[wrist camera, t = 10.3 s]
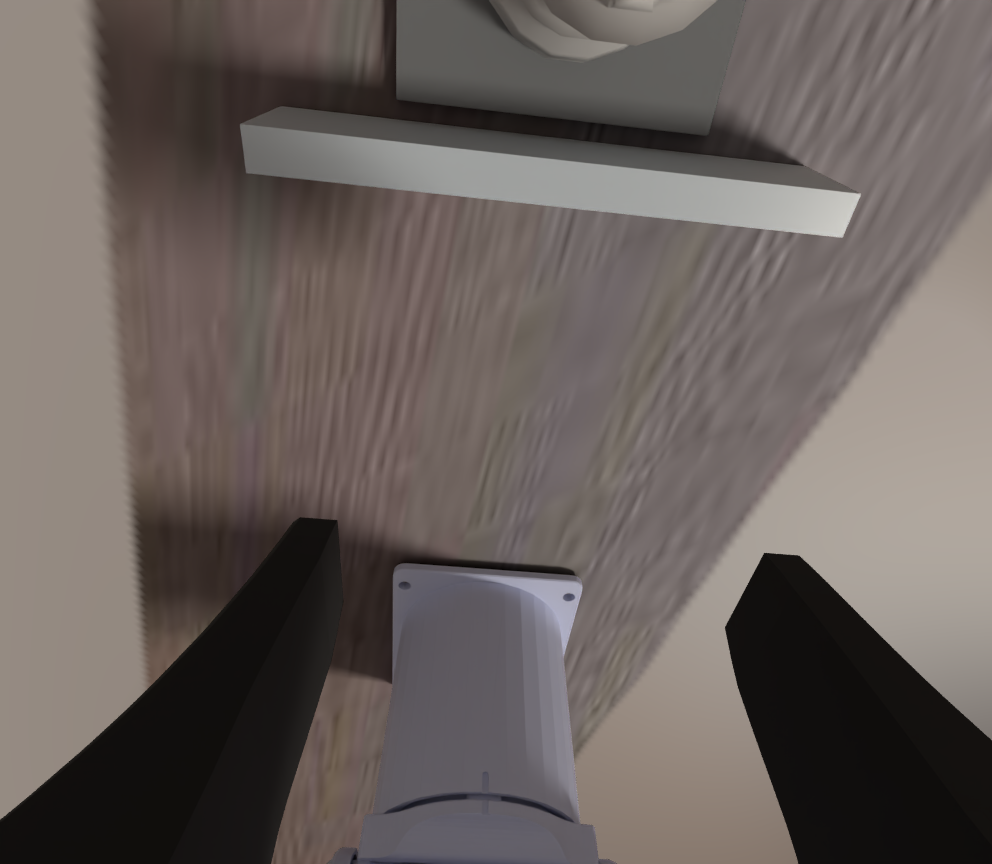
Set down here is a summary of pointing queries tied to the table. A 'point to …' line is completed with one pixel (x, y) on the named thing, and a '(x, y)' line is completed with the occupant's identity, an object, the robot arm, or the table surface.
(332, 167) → the grey acrylic wall
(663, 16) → the rook chess piece
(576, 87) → the charcoal pad
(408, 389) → the table surface
